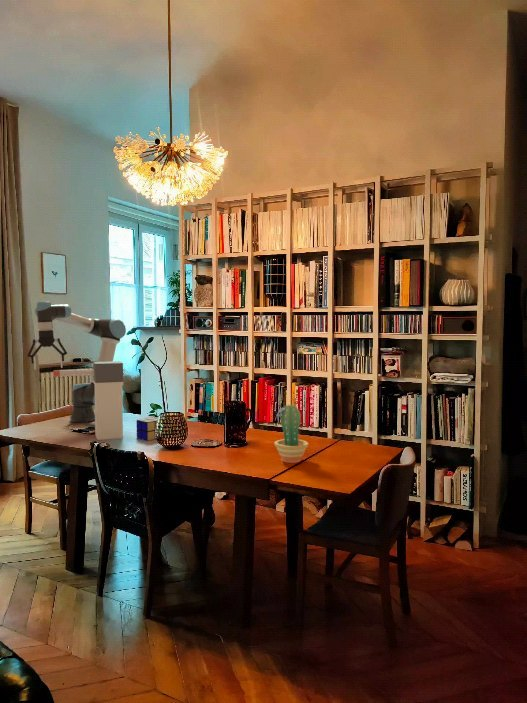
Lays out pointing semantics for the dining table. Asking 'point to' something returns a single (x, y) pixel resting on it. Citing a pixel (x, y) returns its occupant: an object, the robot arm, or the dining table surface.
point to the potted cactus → (290, 435)
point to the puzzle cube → (146, 428)
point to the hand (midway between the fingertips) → (48, 368)
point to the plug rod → (73, 372)
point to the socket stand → (108, 400)
